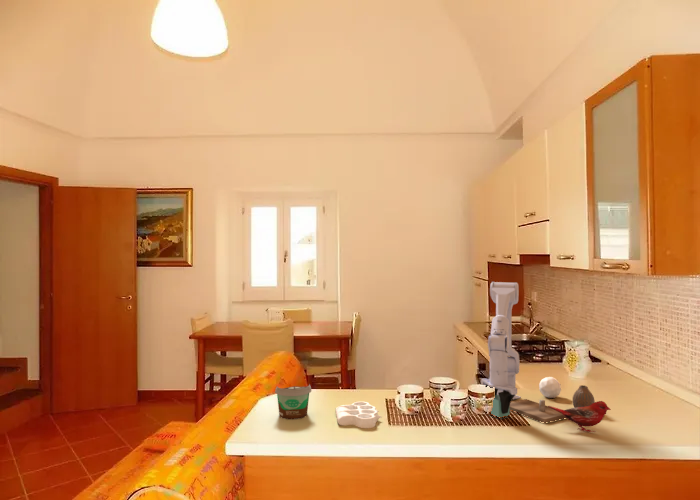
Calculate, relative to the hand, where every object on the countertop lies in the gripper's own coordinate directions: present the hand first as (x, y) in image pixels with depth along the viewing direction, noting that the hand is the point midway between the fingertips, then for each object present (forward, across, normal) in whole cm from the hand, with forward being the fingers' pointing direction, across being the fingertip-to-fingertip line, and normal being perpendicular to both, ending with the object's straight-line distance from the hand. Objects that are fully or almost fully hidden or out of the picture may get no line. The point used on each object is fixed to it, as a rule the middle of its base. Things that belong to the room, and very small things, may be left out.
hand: (498, 410), depth 165 cm
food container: (+2, -31, -61) cm, 68 cm away
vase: (+2, +11, +29) cm, 31 cm away
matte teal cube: (+2, 0, 0) cm, 2 cm away
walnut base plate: (+2, +4, +13) cm, 14 cm away
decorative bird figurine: (+2, +22, +11) cm, 25 cm away
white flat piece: (+2, -20, -43) cm, 47 cm away
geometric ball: (+2, -6, +33) cm, 34 cm away
